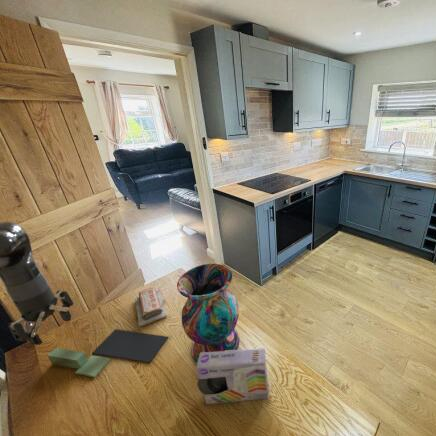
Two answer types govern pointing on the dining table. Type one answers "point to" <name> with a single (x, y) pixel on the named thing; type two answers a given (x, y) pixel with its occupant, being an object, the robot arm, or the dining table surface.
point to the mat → (131, 345)
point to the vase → (209, 309)
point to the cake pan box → (233, 375)
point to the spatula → (78, 361)
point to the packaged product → (149, 306)
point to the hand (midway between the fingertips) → (53, 331)
